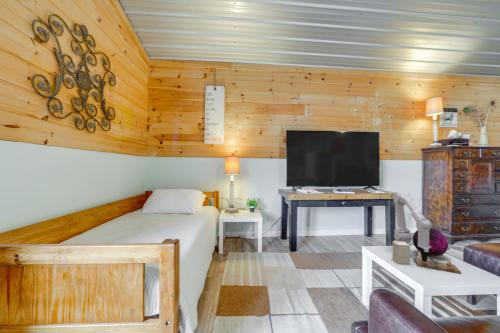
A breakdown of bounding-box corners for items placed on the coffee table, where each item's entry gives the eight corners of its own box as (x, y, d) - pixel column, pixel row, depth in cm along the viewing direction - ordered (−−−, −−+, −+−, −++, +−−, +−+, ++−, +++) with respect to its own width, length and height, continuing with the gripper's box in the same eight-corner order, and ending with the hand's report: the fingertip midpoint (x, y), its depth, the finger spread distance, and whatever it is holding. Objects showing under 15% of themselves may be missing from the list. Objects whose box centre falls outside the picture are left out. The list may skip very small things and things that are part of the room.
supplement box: (403, 260, 149) (403, 241, 149) (410, 264, 142) (410, 245, 142) (391, 259, 150) (392, 240, 150) (398, 264, 142) (398, 244, 143)
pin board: (417, 266, 140) (417, 259, 140) (413, 260, 150) (413, 253, 150) (461, 274, 131) (461, 266, 131) (453, 267, 140) (453, 259, 140)
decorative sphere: (408, 249, 172) (408, 223, 172) (439, 252, 165) (439, 226, 166) (418, 258, 153) (419, 229, 153) (454, 263, 146) (455, 233, 147)
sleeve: (419, 262, 142) (419, 253, 142) (417, 259, 146) (417, 250, 147) (429, 264, 140) (429, 254, 140) (426, 261, 144) (427, 252, 144)
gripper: (434, 242, 135) (434, 265, 135) (427, 236, 148) (427, 257, 148) (420, 240, 138) (420, 262, 138) (415, 235, 151) (414, 254, 151)
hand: (423, 259), depth 143 cm, fingers closed on sleeve, 5 cm apart
